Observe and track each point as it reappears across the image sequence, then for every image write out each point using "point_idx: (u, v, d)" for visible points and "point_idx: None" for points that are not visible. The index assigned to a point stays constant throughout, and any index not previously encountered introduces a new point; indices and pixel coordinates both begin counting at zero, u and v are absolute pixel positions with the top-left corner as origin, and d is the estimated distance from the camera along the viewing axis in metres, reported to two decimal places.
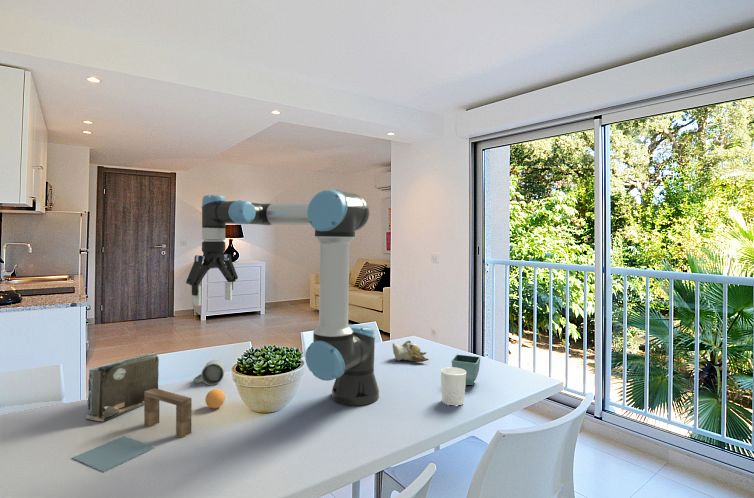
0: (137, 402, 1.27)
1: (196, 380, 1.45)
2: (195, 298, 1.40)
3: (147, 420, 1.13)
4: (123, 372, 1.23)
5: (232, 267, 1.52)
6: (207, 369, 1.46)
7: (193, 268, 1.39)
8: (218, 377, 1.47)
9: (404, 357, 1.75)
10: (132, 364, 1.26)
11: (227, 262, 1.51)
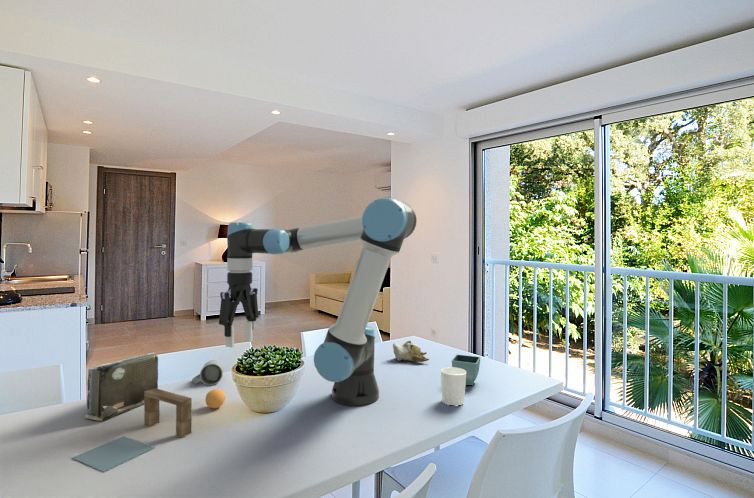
0: (136, 402, 1.27)
1: (195, 380, 1.45)
2: (228, 339, 1.30)
3: (147, 420, 1.13)
4: (122, 371, 1.23)
5: (255, 303, 1.39)
6: (206, 369, 1.46)
7: (222, 307, 1.28)
8: (217, 377, 1.47)
9: (404, 357, 1.75)
10: (131, 363, 1.26)
11: (252, 296, 1.39)
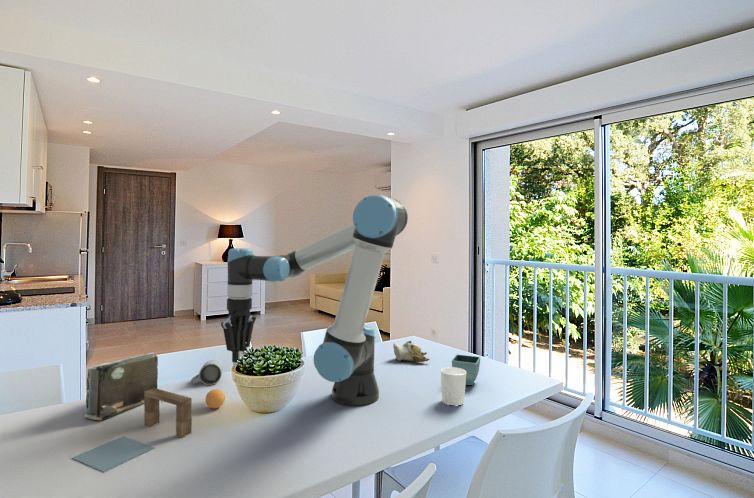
0: (136, 401, 1.28)
1: (194, 380, 1.45)
2: None
3: (147, 420, 1.13)
4: (121, 371, 1.23)
5: (250, 331, 1.37)
6: (205, 369, 1.46)
7: (226, 336, 1.30)
8: (216, 377, 1.47)
9: (405, 357, 1.75)
10: (130, 363, 1.26)
11: (248, 324, 1.38)
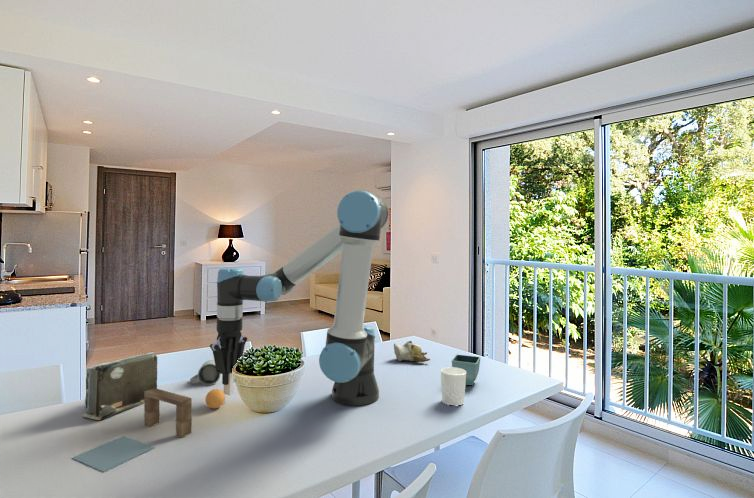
0: (135, 401, 1.28)
1: (193, 380, 1.45)
2: (226, 387, 1.31)
3: (147, 420, 1.13)
4: (121, 371, 1.23)
5: (241, 352, 1.34)
6: (204, 369, 1.46)
7: (216, 358, 1.27)
8: (215, 377, 1.47)
9: (405, 357, 1.75)
10: (130, 363, 1.27)
11: (239, 344, 1.35)
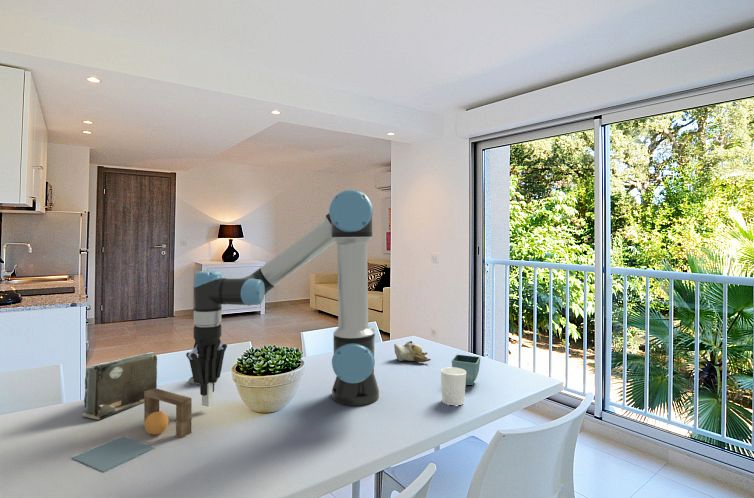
0: (134, 401, 1.28)
1: (191, 380, 1.45)
2: (205, 398, 1.23)
3: None
4: (120, 370, 1.24)
5: (221, 361, 1.26)
6: None
7: (193, 368, 1.19)
8: None
9: (406, 357, 1.75)
10: (129, 363, 1.27)
11: (219, 352, 1.27)
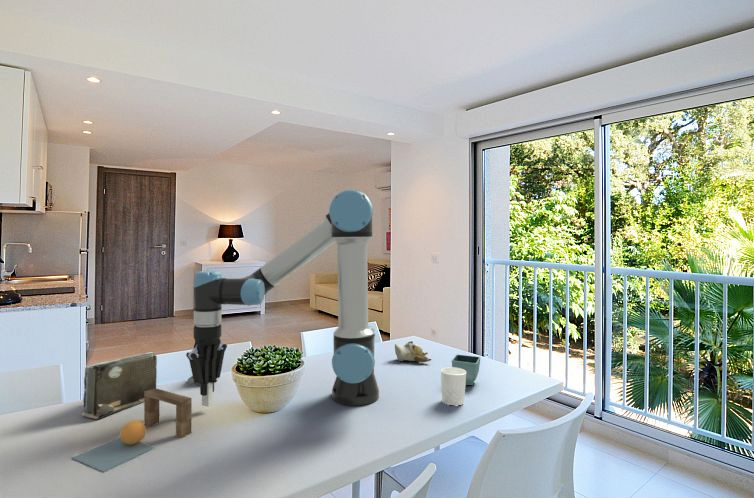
0: (134, 400, 1.28)
1: (190, 380, 1.45)
2: (205, 398, 1.23)
3: (147, 420, 1.13)
4: (119, 370, 1.24)
5: (221, 361, 1.26)
6: None
7: (193, 368, 1.19)
8: None
9: (407, 358, 1.75)
10: (128, 362, 1.27)
11: (219, 352, 1.27)
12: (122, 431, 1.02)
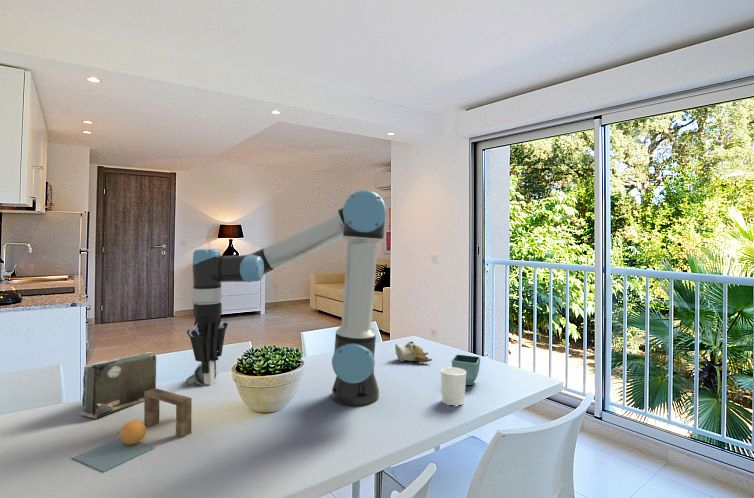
0: (133, 400, 1.29)
1: (188, 380, 1.45)
2: (207, 376, 1.23)
3: (147, 420, 1.13)
4: (118, 369, 1.24)
5: (222, 339, 1.26)
6: (200, 369, 1.46)
7: (194, 345, 1.19)
8: None
9: (407, 358, 1.74)
10: (128, 362, 1.27)
11: (219, 331, 1.27)
12: (122, 431, 1.02)
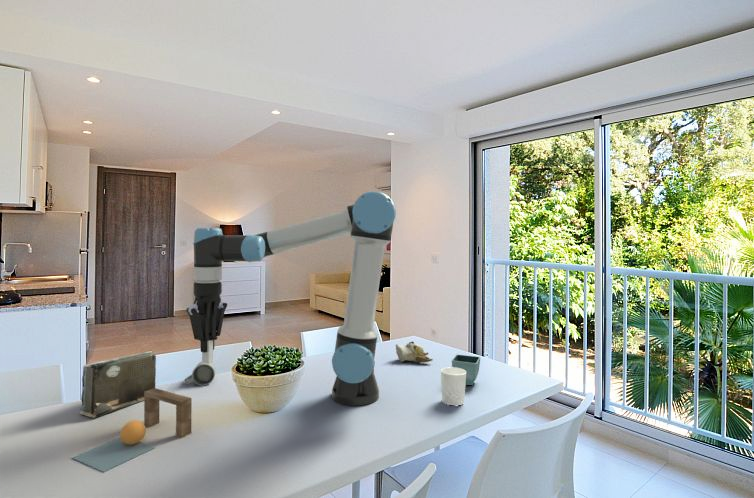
0: (132, 399, 1.29)
1: (187, 381, 1.45)
2: (205, 355, 1.23)
3: (147, 420, 1.13)
4: (117, 369, 1.25)
5: (221, 319, 1.26)
6: (198, 369, 1.46)
7: (193, 323, 1.19)
8: (209, 378, 1.47)
9: (408, 358, 1.74)
10: (127, 362, 1.28)
11: (219, 311, 1.26)
12: (122, 431, 1.02)
